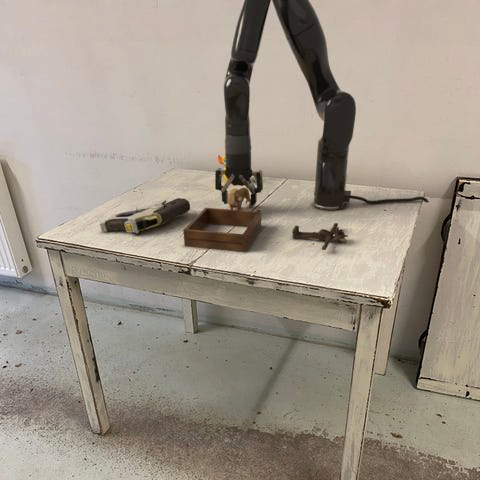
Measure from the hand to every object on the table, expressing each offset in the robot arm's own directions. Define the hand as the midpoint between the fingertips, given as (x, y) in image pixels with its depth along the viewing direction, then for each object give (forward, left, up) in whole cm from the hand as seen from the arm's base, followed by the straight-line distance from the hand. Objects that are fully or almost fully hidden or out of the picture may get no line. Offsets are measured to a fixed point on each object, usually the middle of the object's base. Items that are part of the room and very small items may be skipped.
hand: (239, 204), depth 148 cm
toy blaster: (+24, +15, -3) cm, 28 cm away
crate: (-1, +19, -3) cm, 19 cm away
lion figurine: (0, 0, -3) cm, 3 cm away
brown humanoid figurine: (-27, +16, -3) cm, 32 cm away
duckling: (+11, -30, -3) cm, 32 cm away
